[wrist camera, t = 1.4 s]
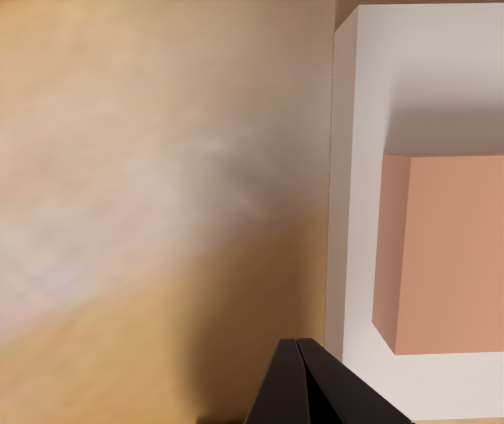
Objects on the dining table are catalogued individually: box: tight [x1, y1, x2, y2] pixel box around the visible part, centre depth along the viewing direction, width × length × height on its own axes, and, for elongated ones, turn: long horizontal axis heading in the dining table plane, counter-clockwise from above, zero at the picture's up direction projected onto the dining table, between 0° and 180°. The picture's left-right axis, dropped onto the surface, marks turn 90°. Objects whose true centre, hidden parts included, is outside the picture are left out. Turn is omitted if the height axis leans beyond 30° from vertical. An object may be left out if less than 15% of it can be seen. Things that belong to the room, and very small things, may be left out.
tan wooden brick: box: [372, 151, 504, 355], centre depth 16 cm, size 9×7×3 cm
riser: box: [324, 3, 504, 420], centre depth 19 cm, size 22×14×4 cm, turn 1°
